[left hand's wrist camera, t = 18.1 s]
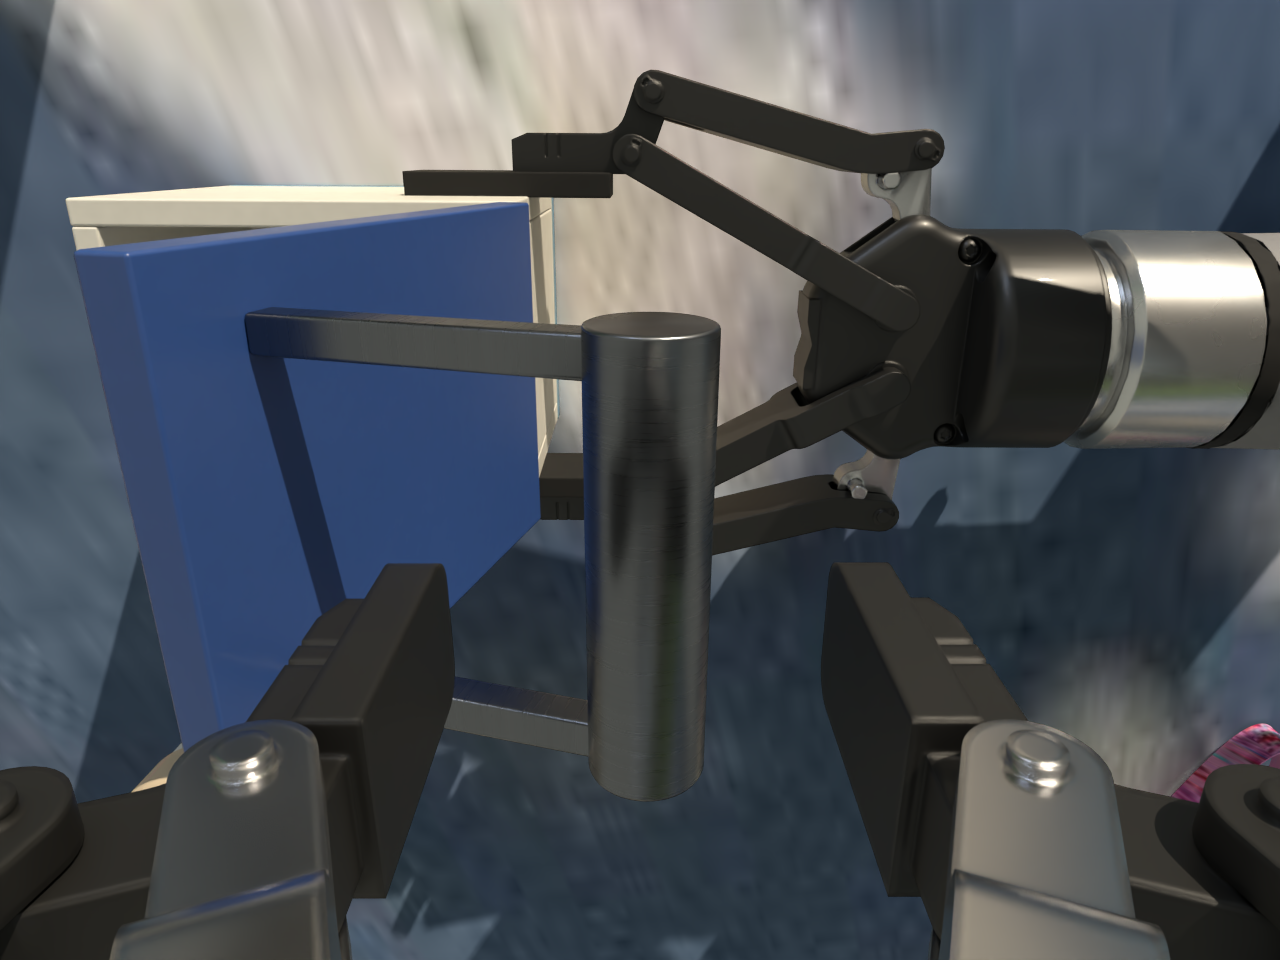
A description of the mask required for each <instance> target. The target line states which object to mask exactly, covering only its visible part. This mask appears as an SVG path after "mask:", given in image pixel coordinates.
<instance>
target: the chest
mask: <svg viewBox="0 0 1280 960" xmlns="http://www.w3.org/2000/svg"><path fill="white" fill-rule="evenodd" d="M495 202H524V203H528V205H529V224H530V251H531V277H532V304H533V323H544V324H557V307H556V271H555V235H554V199H553V198H534V197H526V196H405V194H404V186H314V185H228V186H221V187H207V188H194V189H181V190H168V191H154V192H141V193H128V194H115V195H102V196H88V197H75V198H67V199H66V205H67V209H68V214H69V218H70V223H71V225H73V226H74V227H73V228H72V231H73V236H74V240H75V245H76V249H77V250H79V249H87V248H96V247H104V246H113V245H122V244H131V243H140V242H149V241H158V240H167V239H175V238H184V237H193V236H202V235H211V234H220V233H229V232H238V231H246V230H255V229H264V228H273V227H282V226H291V225H300V224H309V223H317V222H326V221H335V220H344V219H353V218H362V217H371V216H379V215H388V214H397V213H406V212H415V211H424V210H433V209H442V208H450V207H459V206H468V205H477V204H486V203H495ZM535 383H536V410H537V436H538V463H539V477H540V473H541V470H542V467H543V464H544V460H545V457H546V454H547V451H548V447H549V444H550V441H551V438H552V435H553V431H554V428H555V425H556V422H557V419H558V417H559V379H548V378H536V377H535Z"/></svg>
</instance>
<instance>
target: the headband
mask: <svg viewBox="0 0 1280 960" xmlns="http://www.w3.org/2000/svg"><path fill="white" fill-rule="evenodd" d="M1270 758H1272V760H1271V762H1270V765H1269V767H1274V768H1278V769H1280V734H1278V733H1277V732H1276V731H1275V730H1274V729H1273V728H1272V727H1271V726H1269V725H1267V724H1256V725H1253V726H1251V727H1248V728H1247V729H1245V730H1243V731H1241V732H1240V733H1238V734H1237V735H1235V736H1234V737H1233V738H1231V739H1230V740H1229V741H1227V742H1226V743H1225V744H1224V745H1223V746H1221V747H1220V748H1219V749H1218V750H1217V751H1216V752H1215V753H1214V754H1213V755H1211V756H1210V757H1209V758H1208V759H1207V760H1206V761H1205V762H1204V763H1203V764H1202V765H1201V766H1200V767H1199V768H1198V769H1197V770H1196V771H1195V772H1194V773H1193V774H1192V775H1191V776H1190V777H1189V778H1188V779H1187V780H1186V781H1185V782H1184V783H1183V784H1182V785H1181V786H1180V787H1179V788H1178V790H1177V791H1176V792H1175V793H1174V794H1173V795H1172V796H1171V797H1173V798H1178V799H1183V800H1188V801H1192V802H1197V803H1199V801H1200V798H1201V795H1202V791H1203V788H1204V784H1205V781H1206V779H1207V777H1208V775H1210V774H1211V773H1212V772H1213V771H1214V770H1216V769H1218V768H1220V767H1223V766H1227V765H1234V764H1256V765H1261V764H1262V763H1264V762H1265V761H1267V760H1268V759H1270Z"/></svg>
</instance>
